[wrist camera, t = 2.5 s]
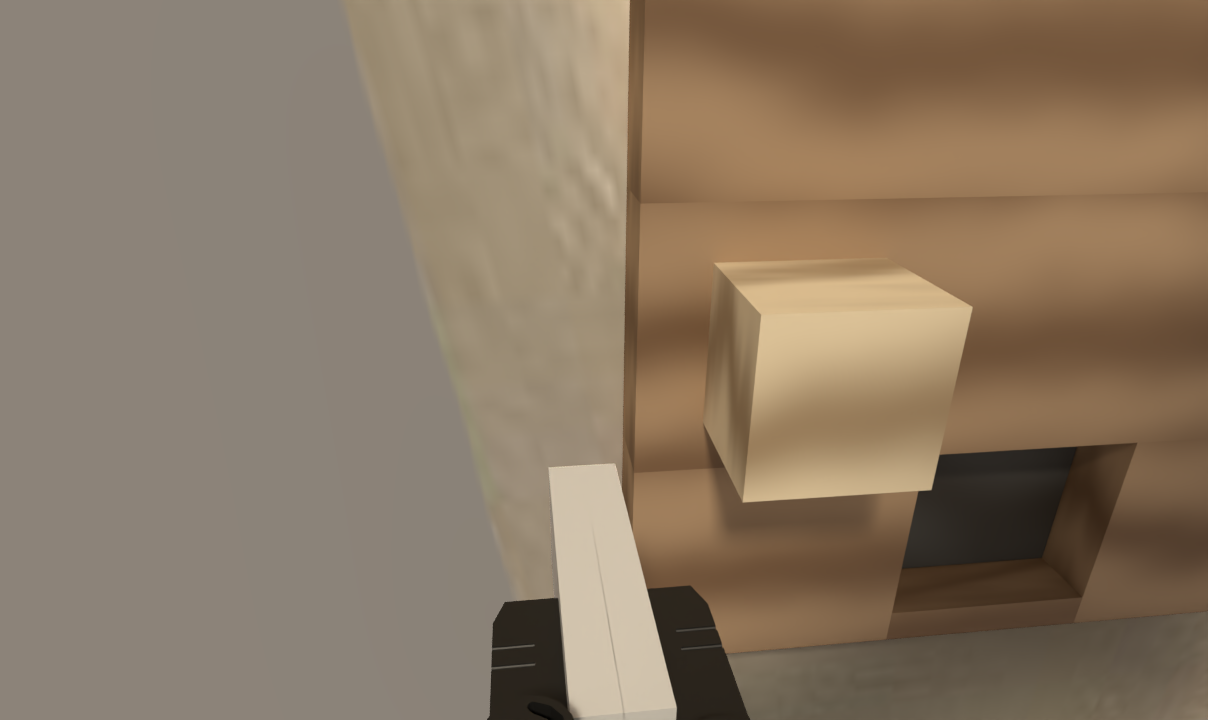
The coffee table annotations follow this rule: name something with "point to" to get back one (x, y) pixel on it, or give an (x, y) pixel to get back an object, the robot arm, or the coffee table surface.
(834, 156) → the board
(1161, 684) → the coffee table surface
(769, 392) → the maple block
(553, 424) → the coffee table surface
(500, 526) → the coffee table surface
